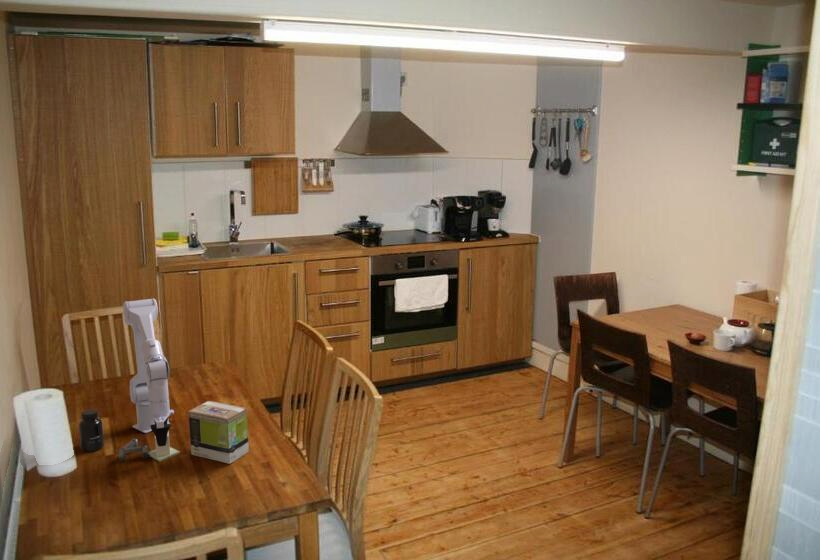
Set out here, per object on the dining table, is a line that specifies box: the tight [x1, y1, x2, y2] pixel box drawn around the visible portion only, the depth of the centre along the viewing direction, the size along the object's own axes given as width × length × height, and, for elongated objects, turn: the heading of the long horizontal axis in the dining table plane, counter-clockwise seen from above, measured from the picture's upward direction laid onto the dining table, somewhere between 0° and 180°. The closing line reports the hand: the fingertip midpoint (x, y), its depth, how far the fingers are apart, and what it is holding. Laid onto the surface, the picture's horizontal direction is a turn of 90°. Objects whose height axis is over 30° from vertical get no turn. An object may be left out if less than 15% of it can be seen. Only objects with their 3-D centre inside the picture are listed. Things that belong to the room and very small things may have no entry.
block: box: [154, 430, 171, 456], centre depth 229 cm, size 4×4×6 cm
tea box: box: [188, 400, 250, 465], centre depth 229 cm, size 15×10×15 cm, turn 65°
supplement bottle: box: [78, 408, 105, 453], centre depth 232 cm, size 7×7×12 cm
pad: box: [148, 446, 181, 462], centre depth 229 cm, size 7×7×1 cm
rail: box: [118, 438, 150, 462], centre depth 227 cm, size 8×8×4 cm
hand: (162, 440), depth 228 cm, fingers open, 7 cm apart
